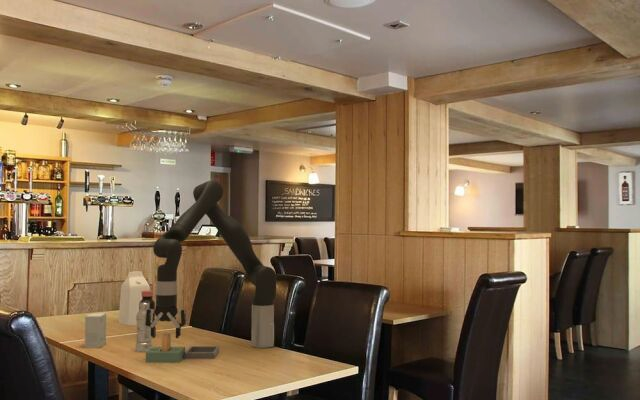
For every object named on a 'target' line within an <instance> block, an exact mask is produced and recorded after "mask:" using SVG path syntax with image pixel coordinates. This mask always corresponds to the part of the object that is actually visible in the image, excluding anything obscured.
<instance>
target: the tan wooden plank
mask: <svg viewBox="0 0 640 400" xmlns="http://www.w3.org/2000/svg"><path fill="white" fill-rule="evenodd" d="M171 335H172V332H164V334H162V335H161V347H162V350H161V351H169V350H170V347H172V345H171V342H172V341H171V340H172V339H171Z"/></svg>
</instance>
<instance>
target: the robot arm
mask: <svg viewBox="0 0 640 400" xmlns="http://www.w3.org/2000/svg"><path fill="white" fill-rule="evenodd" d="M192 195H193V198H194V200H195V202H194V203H193V204H192V205H191V206H190V207H189V208H188V209H187V210H186V211H184V212H183V213H182V214H181V215H180V216H179V217H178V218H177V220H176V221H175V222H174V224H173V225H172V227H171V228H169V229H168V230H166V231H165V232H164V233H163V234H162V235H161V236H159V237H158V238H157V239H156V240H155V242H154V244H153V254H154V255H155V257H156V258H162V259H163V258H164V259H166V260H165V262H164V264H160V265H158V267H157V272H156V273H157V276H156V287H155V310H154V309H148V310H147V312H146V324H145V325H146V326H149V327H151V339H155V338H156V336H157V334H156V333H157V331H156V330H157V328H156V326H157V324H158V322H172V324H174V326H175V338H176V339H179V338H180V336H181V332H182V331H181V330H182V327H184V326H185V325H187V319H186V318H187V316H186V315H187V313H186V311H187V310H186V309H185V308H182V309H178V307H177V306H178V281H177V279H178V278H177V277H178V267H179V264H180V260H181V257H182V253H183V247H182V246H183V245H182V244H181V243H182V242H185V241H186V240H187V239H188V238H189V236H190V235H191V234H192V232H193V230H194V229H195V228H196V226H197V225H199V222H200V221H201V220H202V219H203V217H205V215H206V216H207V218H209V220H210V221H211V223H212V224H213V226H214V227H215V229H216V230H217V232H218V233H219V234H220V236H221V237H222V239H223V240H224V242H225V243H226V245H227V247H228V248H229V249H230V251H231V252H232V253H233V255H234V256H235V257H236V259H237V260H238V262H239V263H240V265H241V266H242V268H243V269H244V272H245V273H246V276H247V277H248V279H249V281H250V283H251V284H252V285H253V286H254V288H255V292H254V295H253V297H252V298H251V339H250V340H251V347H253V348H259V349H265V348H273V347H274V346H275V322H274V321H275V319H274V318H275V316H274V315H275V299H276V295H277V274H276V272H275V270H274V269H273V268H272V267H271V266H266V265H264V264H263V262H262V261H261V260H260V259H259V258H258V256H257V254H255V250H254V249H253V248H254V247H253V245H252V241H251V239H250V237H249V235H248V233H247V232H246V230H245V228H244V227H243V225H242V224H241V223H240V222H239V221H238V220H236V219H235V218H234V217H232V216H230V215H229V214H228V213H227V212H225V211H224V210H223V209H222V208H221V207H220V206H219V204H218V202H219V201H221V199H222V198H223V196H224V189H223V186H222V184H221V183H220V182H219V181H217V180H215V179H214V180H212V179H211V180H208V181H205V182H203V183H201V184H199V185H197V186H195V187H194V188H193V192H192ZM153 313H155V316H156V317H155V320H154V321H153V323H151V315H152V314H153ZM177 315H179V316H180V320H181V321H179V319H178V318H177Z"/></svg>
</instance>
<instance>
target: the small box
mask: <svg viewBox="0 0 640 400" xmlns="http://www.w3.org/2000/svg"><path fill="white" fill-rule="evenodd" d="M106 344H107V312H106V313H105V312H104V313H103V312H102V313H101V312H96V313H95V312H94V313H93V312H92V313H89V314H87V315H85V316H84V348H85V349H101V348H102V347H103V346H105V345H106Z"/></svg>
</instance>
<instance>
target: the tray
mask: <svg viewBox="0 0 640 400" xmlns="http://www.w3.org/2000/svg"><path fill="white" fill-rule="evenodd" d="M219 352H220V346H215V345H213V346H205V345H204V346H203V345H200V346H197V345H194V346H192V345H191V346H190V347H188V349H187V350H185V353H184V358H183V359H184V360H186V359H187V360H188V359H189V360H193V359H194V360H196V359H197V360H199V359H200V360H203V359H205V360H207V359H208V360H214V359H215V358H216V357H217V355H218V354H219Z"/></svg>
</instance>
